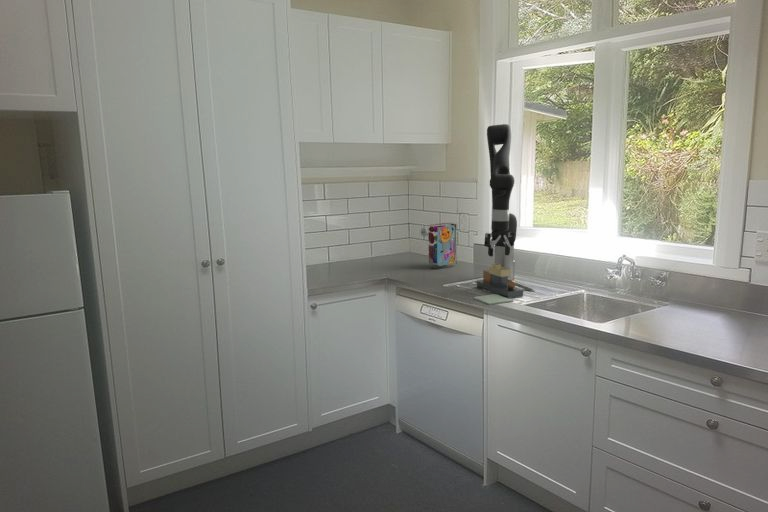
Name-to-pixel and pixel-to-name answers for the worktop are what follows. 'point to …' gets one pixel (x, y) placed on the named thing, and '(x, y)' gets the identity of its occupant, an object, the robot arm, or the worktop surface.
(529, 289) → the caliper
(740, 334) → the worktop surface
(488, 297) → the mat
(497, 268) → the lever cap
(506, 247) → the robot arm
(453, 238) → the box
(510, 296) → the hand plane
